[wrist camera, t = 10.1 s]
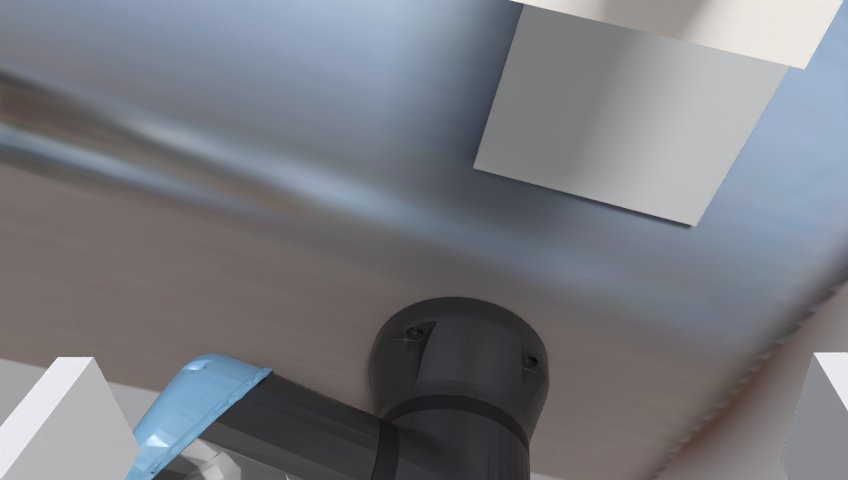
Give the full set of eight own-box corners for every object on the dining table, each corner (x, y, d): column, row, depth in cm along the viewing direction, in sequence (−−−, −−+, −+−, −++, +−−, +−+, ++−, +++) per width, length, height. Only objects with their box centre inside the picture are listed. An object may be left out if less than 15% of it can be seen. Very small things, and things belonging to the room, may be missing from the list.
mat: (693, 221, 45) (695, 226, 44) (473, 164, 44) (473, 168, 44) (828, -9, 36) (832, -7, 35) (552, -86, 35) (552, -84, 34)
